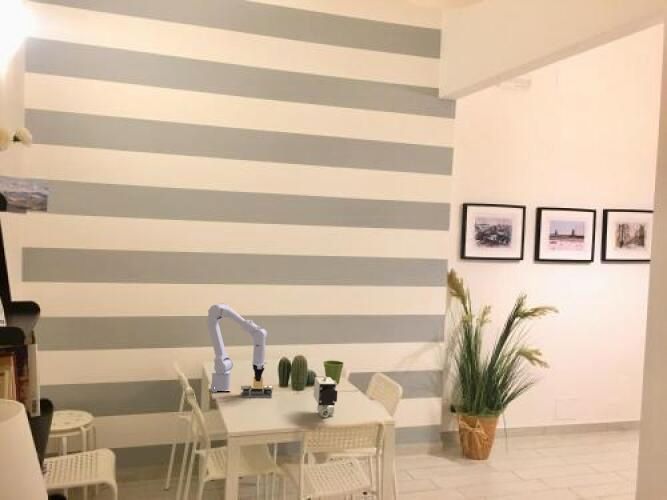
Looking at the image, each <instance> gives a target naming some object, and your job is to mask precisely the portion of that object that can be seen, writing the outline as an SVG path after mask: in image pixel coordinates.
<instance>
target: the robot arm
mask: <svg viewBox="0 0 667 500" xmlns="http://www.w3.org/2000/svg"><path fill="white" fill-rule="evenodd" d="M207 312H208V315H207V321H206V324H207V329H208V331H209V336H210V339H211V343H212V347H213V350H214V355H215V357H214V360H213V362H214V371H215V372H213V373H211V375H212V376H211V384H210V388H211V393H218V392H217V391H226V390H229V389H230V390H231V387H230V386H231V373H232V372H231V370H232V369H233V368H234V367H233V366H234V362H233V361H232V359H231V358H230V355H229V354H228V353H227V350H226V347H225V345H224V339H223V336H222V332H221V328H220V325H219V323H220V322H221V320H222V318H229V319H230V320H232V321H233V322H235V323H236V324H238V325H240V326H241V329H242V331H244V332H246V333H247V334H248V335H250V336H251V337H252V339H253V354H252V369H253V371H254V377H255V379H256V381H260V380H261V377H263V372H264V371H265V365H266V364H268V363H267V361H266V360H265V358H266V357H265V355H266V339H267V338H268V332H267V330H266V328H263V327H261V326H259V325H257V324H256V323H254V321H253V320H252V319H245V318H243V317H242V316H241V315H239V314H238V313H237V312H236V311H235V310H234V309H232V308H231V306H229V305H227V304H226V303H224V302H220V303H218V304H213V305H212V306H210V308H209V309H208V311H207ZM214 387H215V389H214Z"/></svg>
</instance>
